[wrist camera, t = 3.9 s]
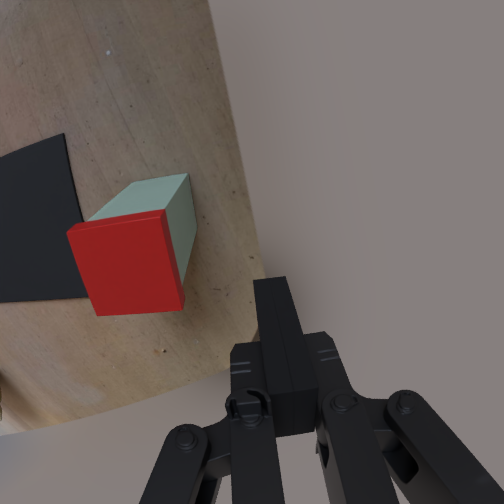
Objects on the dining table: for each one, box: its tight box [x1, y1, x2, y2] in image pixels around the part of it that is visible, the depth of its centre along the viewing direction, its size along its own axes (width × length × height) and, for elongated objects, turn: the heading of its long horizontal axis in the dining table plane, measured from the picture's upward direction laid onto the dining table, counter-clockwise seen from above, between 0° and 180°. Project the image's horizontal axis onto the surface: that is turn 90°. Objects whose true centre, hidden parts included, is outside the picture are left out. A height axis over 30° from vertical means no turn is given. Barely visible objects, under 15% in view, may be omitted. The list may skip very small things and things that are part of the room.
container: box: [67, 173, 197, 316], centre depth 25 cm, size 7×7×14 cm
